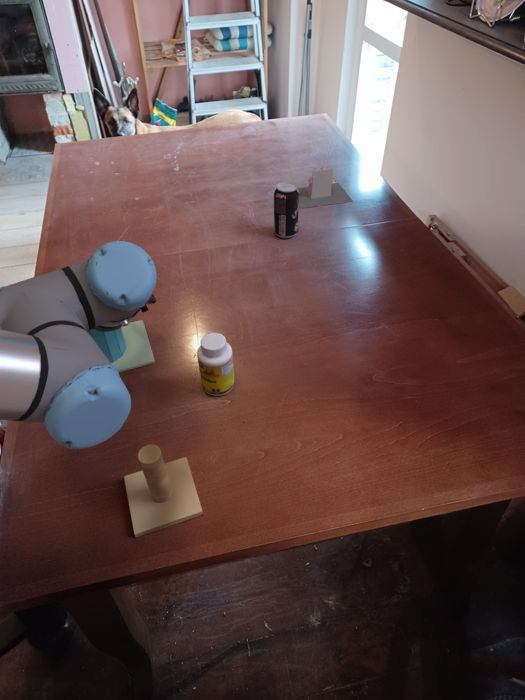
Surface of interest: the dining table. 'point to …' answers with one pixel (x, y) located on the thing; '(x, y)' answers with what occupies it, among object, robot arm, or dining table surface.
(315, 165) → the dining table surface
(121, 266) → the robot arm
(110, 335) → the ring
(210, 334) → the supplement bottle
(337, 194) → the architectural model
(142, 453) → the stand
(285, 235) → the beverage can
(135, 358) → the mat
